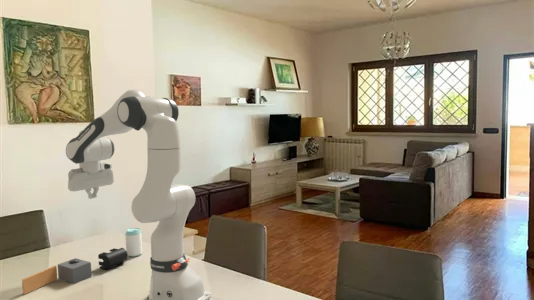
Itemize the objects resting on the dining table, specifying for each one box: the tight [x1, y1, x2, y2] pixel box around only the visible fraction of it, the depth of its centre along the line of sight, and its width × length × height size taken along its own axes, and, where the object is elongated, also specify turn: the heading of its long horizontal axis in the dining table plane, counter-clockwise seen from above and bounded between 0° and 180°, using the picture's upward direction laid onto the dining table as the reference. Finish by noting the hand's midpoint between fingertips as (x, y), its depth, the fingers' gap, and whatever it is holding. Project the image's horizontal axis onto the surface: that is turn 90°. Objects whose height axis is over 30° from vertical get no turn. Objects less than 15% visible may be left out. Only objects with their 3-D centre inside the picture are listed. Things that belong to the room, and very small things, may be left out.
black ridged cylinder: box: [97, 247, 129, 271], centre depth 170 cm, size 10×7×7 cm
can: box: [124, 227, 143, 258], centre depth 184 cm, size 7×7×12 cm
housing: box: [57, 258, 93, 285], centre depth 158 cm, size 10×8×7 cm
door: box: [21, 265, 58, 295], centre depth 151 cm, size 14×2×6 cm, turn 159°
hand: (92, 198), depth 172 cm, fingers closed
